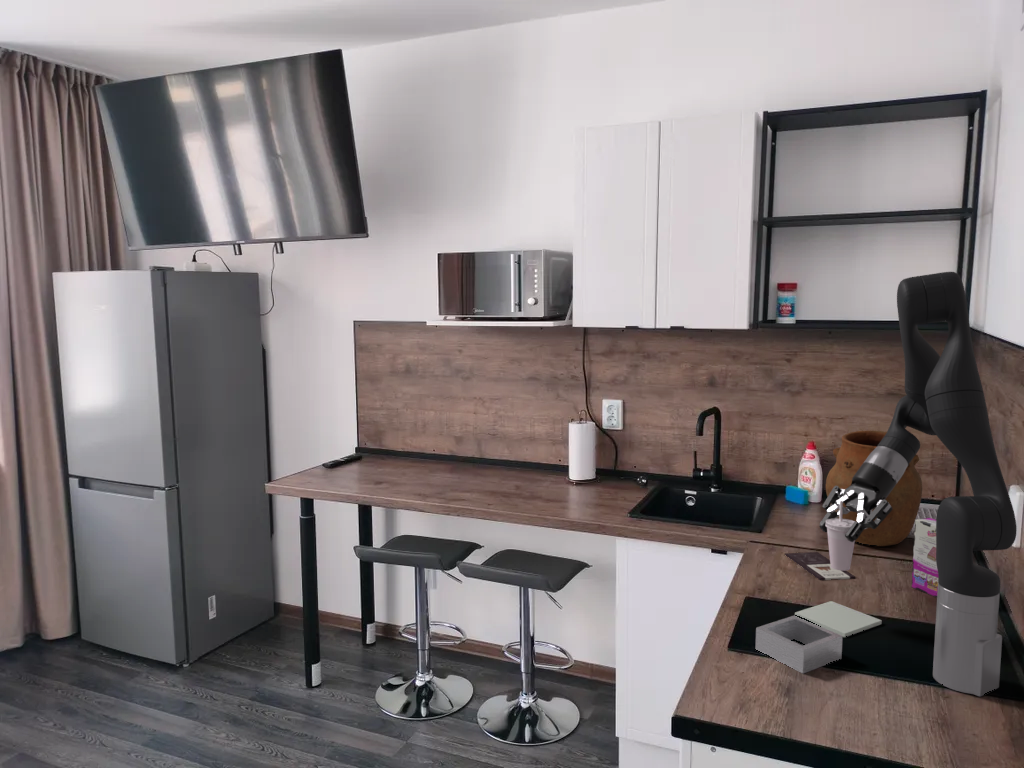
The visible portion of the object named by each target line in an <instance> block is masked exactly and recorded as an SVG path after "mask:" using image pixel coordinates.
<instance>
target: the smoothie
mask: <svg viewBox="0 0 1024 768" xmlns="http://www.w3.org/2000/svg"><path fill="white" fill-rule="evenodd" d="M842 510H843V501H840V512H839V518H831V519H827V520H826V524H825V526H826V527H827V532H826V533H827V534H826V535H827V542H828V553H829V560H830V565H831V568H833V569H836V570H841V571H849V570H850V569H851V564H852V560H853V554H854V553H853V552H854V547H855V543H856V542H855V540H854V542H850V541H848V539H847V538H846V537H845V534H846V533H847V532H848V530H849V529H850V527H851V526H852V525H853V523H854V522H855V521H852V520H849V519H842Z"/></svg>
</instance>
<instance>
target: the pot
mask: <svg viewBox="0 0 1024 768" xmlns="http://www.w3.org/2000/svg"><path fill="white" fill-rule="evenodd" d="M886 433H887V431H884V430H883V431H882V430H856V431H852V432H848V433H845V434H843V435H842V436H841V445H840V447H836V448H834V449H832V453H833V456H834V457H835V458H836V460H835V461H836V462H835V464H834V465H833V466H832V468H830V470H829V472H828V474H827V477H826V480H825V492H826V497H828V496H829V494H830V492H831V491H832V489H833V487H834V486H838V487H839V488H840V489H846V488H848V487H849V486H850V485H851V484H852V478H853V476H854V475H855V474H856V472H857V471H858V470H859V468H860V467H861V465H862V464H863V463H864V461H865V460H866V459H867V457H868V456H869V455H870V453H871V452H872V451H873V450H874V449H875V448H876V447H877V446H878V444H879V443H880V442H881V440H882V439H883V437H884V436H885V435H886ZM919 461H920V457H919V455H918V454H916V455H915V456H914V458H913V459H912V460H911V462H910V463H909V465H908V466H907V468H906V470H905V472H904V474H903V475H902V477H901V478H900V480H899V481H898V482H897V484H896V485H895V487H894V488H893V489H892V491H891V492H890V494H889V495H888V496H887V498H886V499H885V500H886V501H887V502H888V503H889V504H890V505H891V507H892V511H891V512H890V513H889V514H888V515H887V516H886V518H885V519H884V520H883V521H882V522H881V523H880V525H879V526H878V527H877V528H876V529H872V528H867V529H864V530H863V532H862V533H861V534H860V536H859V537H858V539H856V540H855V543H857V542H859V543H858V544H860V543H863V544H869V545H868V546H870V545H877V546H876V547H888V546H894V545H898V544H900V543H901V542H903V541H904V540H905V539H907V537H909V535H910V533H911V531H912V529H913V528H914V526H915V520H917V519H916V518H917V517H918V513H919V510H920V506H921V502H922V496H923V481H922V477H921V475H920V473H919V471H918V470H917V469H916V467H915V466H916V464H918V463H919ZM830 505H831V504H830ZM843 507H846V506H845V504H844V503H843ZM874 509H875V508H874ZM874 509H873V510H874ZM838 510H840V508H839V509H837V510H836V511H835V512H837V511H838ZM873 510H872V511H873ZM857 516H858V513H857V512H852V511H851V512H849V513H847V514H843V515H842V519H849V520H852V521H855V522H857ZM838 518H839V517H838ZM876 518H877V517H876ZM876 518H875V519H876ZM875 519H874V520H875ZM874 520H873V521H874ZM863 544H862V545H863Z"/></svg>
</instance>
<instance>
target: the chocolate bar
mask: <svg viewBox="0 0 1024 768" xmlns="http://www.w3.org/2000/svg"><path fill="white" fill-rule="evenodd" d="M785 555H786V556H787V558H788V557H789V558H790V559H789V558H788V559H789V560H791V559H792V560H793V561H794V563H795V562H796V563H797V564H796V563H795V564H796V565H798V564H799V565H800V566H802V567H803V568H804V570H805V571H806V570H807V571H808V572H807V571H806V572H807V573H809V574H810V573H811V574H810V575H812V574H813V575H814V576H815V577H814V576H813V575H812V576H813V577H814V578H816V579H817V578H818V579H817V580H818V581H832V580H831V579H838V580H852V579H853V580H854V579H856V576H855V575H853V574H852V573H851V572H849V571H848V570H846V571H841V570H836V569H833V568H831V565H830V558H827V557H826V556H824V555H822V553H819V552H818V551H816V552H815V551H814V552H813V551H812V552H811V551H809V552H790V553H789V552H787V553H784V556H785ZM786 556H785V557H786ZM792 560H791V561H792ZM793 561H792V562H793ZM799 565H798V566H799ZM802 567H801V568H802ZM803 568H802V569H803Z"/></svg>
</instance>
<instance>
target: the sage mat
mask: <svg viewBox="0 0 1024 768" xmlns="http://www.w3.org/2000/svg"><path fill="white" fill-rule="evenodd" d="M795 615H797V616H800V617H802V618H805V619H807V620H809V621H811V622H813V623H815V624H817V625H819V626H821V627H823V628H825V629H827V630H830V631H832V632H834V633H837V634H839V635H842V638H847V637H850V636H852V634H853V635H856V634H857V633H860V632H864V631H866V630H870V629H872V628H875V627H877V626H880V625H882V619H879V618H877V617H874V616H872V615H868V614H865V613H864V612H861V611H858V610H856V609H853V608H851V607H847V606H845V605H843V604H840V603H838V602H835V601H832V600H830V601H827V602H824V603H821V604H818V605H815V606H812V607H808V608H804V609H802V610H798V611H796V612H794V616H795ZM863 630H864V631H863ZM846 636H847V637H846Z"/></svg>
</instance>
